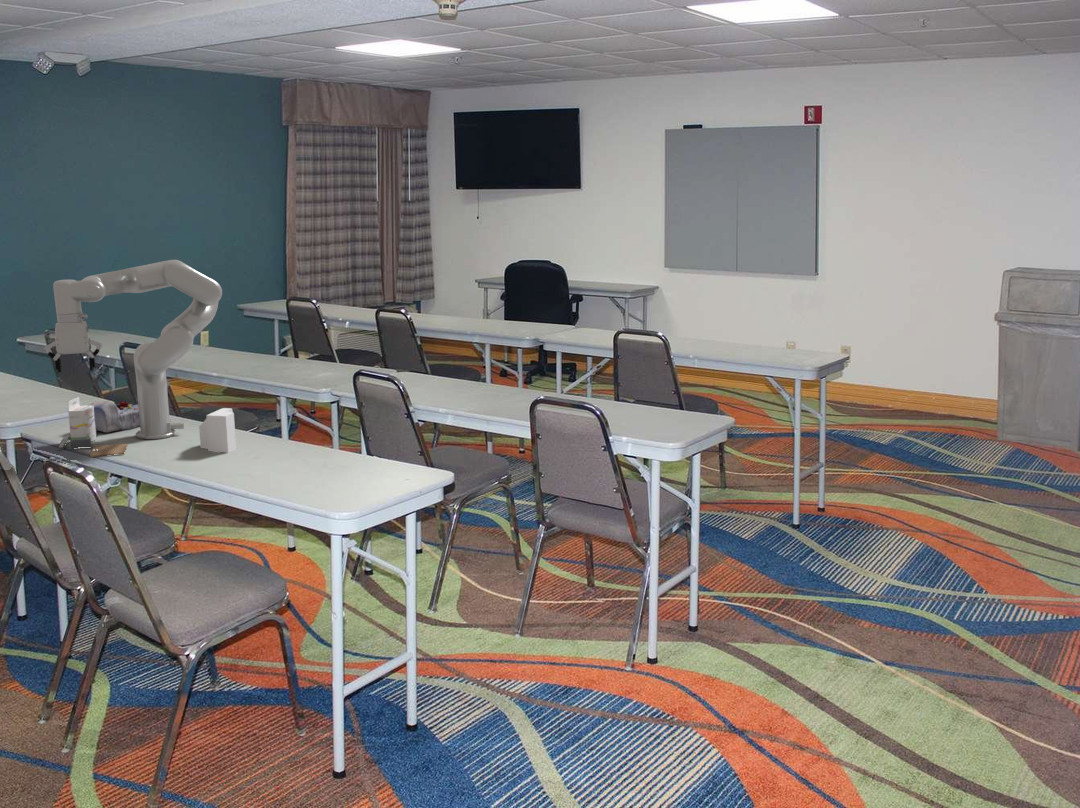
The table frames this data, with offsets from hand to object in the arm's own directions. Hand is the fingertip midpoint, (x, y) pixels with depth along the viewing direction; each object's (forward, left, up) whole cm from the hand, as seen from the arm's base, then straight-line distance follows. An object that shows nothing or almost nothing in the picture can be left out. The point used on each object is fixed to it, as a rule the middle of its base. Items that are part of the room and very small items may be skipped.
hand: (76, 370), depth 342 cm
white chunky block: (-43, +19, -24) cm, 53 cm away
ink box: (0, 0, -24) cm, 24 cm away
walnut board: (-9, +14, -24) cm, 29 cm away
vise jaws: (+1, 0, -24) cm, 24 cm away
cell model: (-10, -19, -25) cm, 32 cm away
